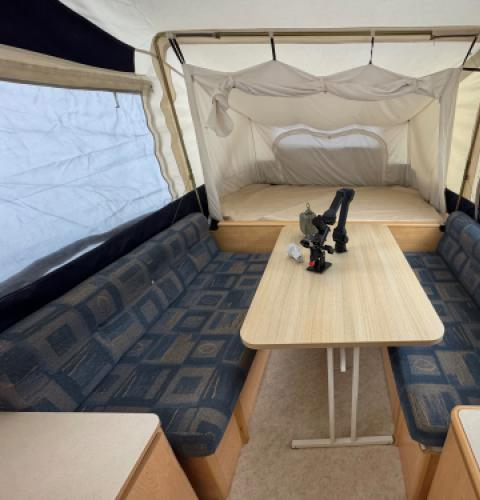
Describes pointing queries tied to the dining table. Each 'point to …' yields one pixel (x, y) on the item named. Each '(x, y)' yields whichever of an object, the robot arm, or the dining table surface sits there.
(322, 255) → the switch bracket
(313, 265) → the switch lever
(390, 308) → the dining table surface
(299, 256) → the spotlight
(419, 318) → the dining table surface
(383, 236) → the dining table surface
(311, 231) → the grey lantern
